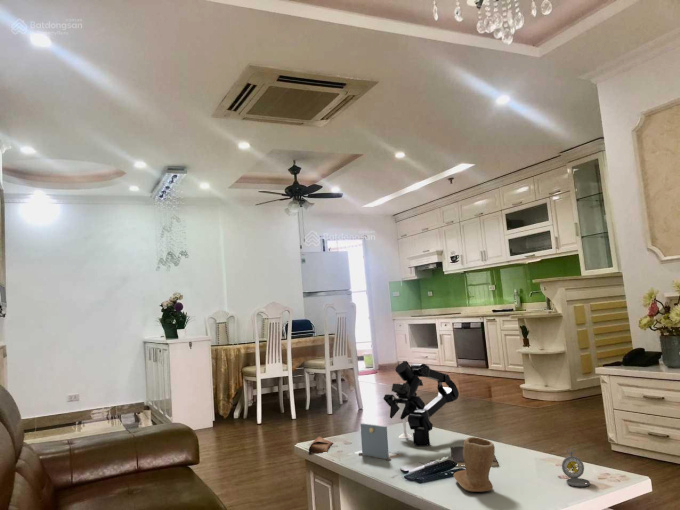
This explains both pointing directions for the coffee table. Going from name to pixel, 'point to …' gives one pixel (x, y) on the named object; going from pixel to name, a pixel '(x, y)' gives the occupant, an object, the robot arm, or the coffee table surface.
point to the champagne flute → (404, 435)
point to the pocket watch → (570, 464)
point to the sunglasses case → (320, 445)
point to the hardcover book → (458, 457)
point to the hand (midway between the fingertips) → (395, 418)
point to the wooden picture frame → (391, 456)
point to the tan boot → (476, 465)
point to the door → (374, 440)
